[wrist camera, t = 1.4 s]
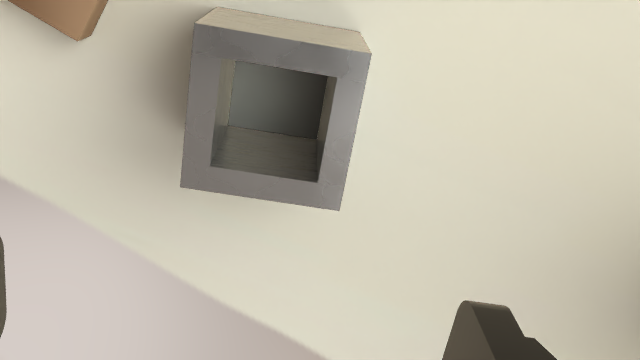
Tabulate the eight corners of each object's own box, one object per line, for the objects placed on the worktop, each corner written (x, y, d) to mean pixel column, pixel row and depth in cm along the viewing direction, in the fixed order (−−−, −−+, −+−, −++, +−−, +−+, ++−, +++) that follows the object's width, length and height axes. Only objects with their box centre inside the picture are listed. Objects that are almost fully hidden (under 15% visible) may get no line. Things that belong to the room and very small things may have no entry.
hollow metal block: (360, 31, 24) (371, 53, 19) (334, 163, 26) (339, 210, 22) (217, 6, 24) (194, 22, 19) (203, 143, 26) (180, 187, 21)
